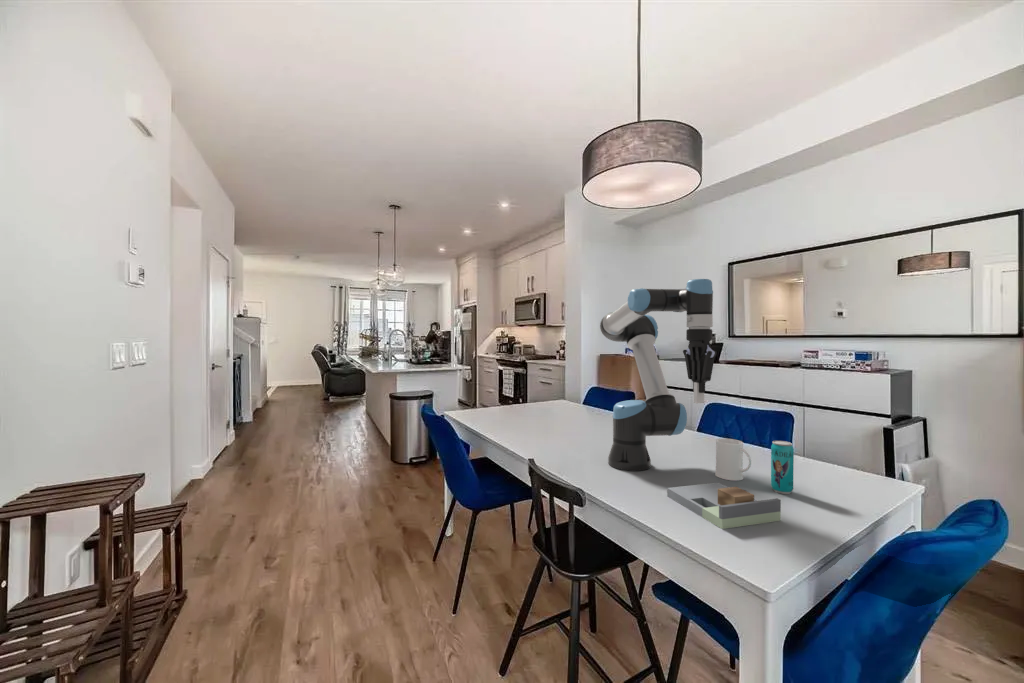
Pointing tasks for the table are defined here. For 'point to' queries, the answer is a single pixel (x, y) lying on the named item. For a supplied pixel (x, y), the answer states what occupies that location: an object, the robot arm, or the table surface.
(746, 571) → the table surface
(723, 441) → the mug
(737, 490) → the block
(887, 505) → the table surface
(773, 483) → the beverage can
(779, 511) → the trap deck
